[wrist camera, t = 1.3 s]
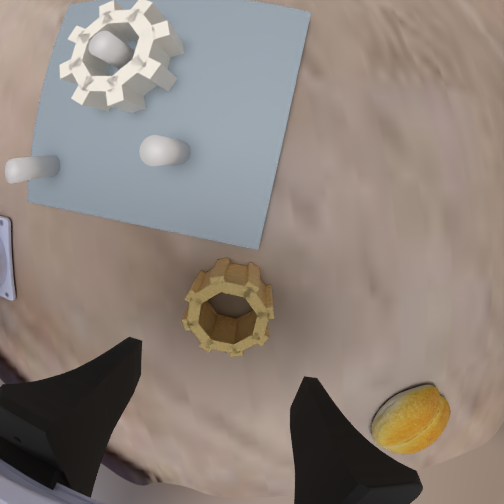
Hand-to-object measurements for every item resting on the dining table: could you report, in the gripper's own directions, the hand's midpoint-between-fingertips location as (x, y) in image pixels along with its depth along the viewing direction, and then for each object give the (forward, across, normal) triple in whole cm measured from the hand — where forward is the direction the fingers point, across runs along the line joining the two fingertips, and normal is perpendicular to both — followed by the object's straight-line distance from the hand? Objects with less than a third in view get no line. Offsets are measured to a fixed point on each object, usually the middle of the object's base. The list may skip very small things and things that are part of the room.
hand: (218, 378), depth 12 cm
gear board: (+9, +8, -11) cm, 17 cm away
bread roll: (+10, -20, +10) cm, 25 cm away
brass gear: (+9, 0, 0) cm, 9 cm away
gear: (+8, +10, -14) cm, 19 cm away
